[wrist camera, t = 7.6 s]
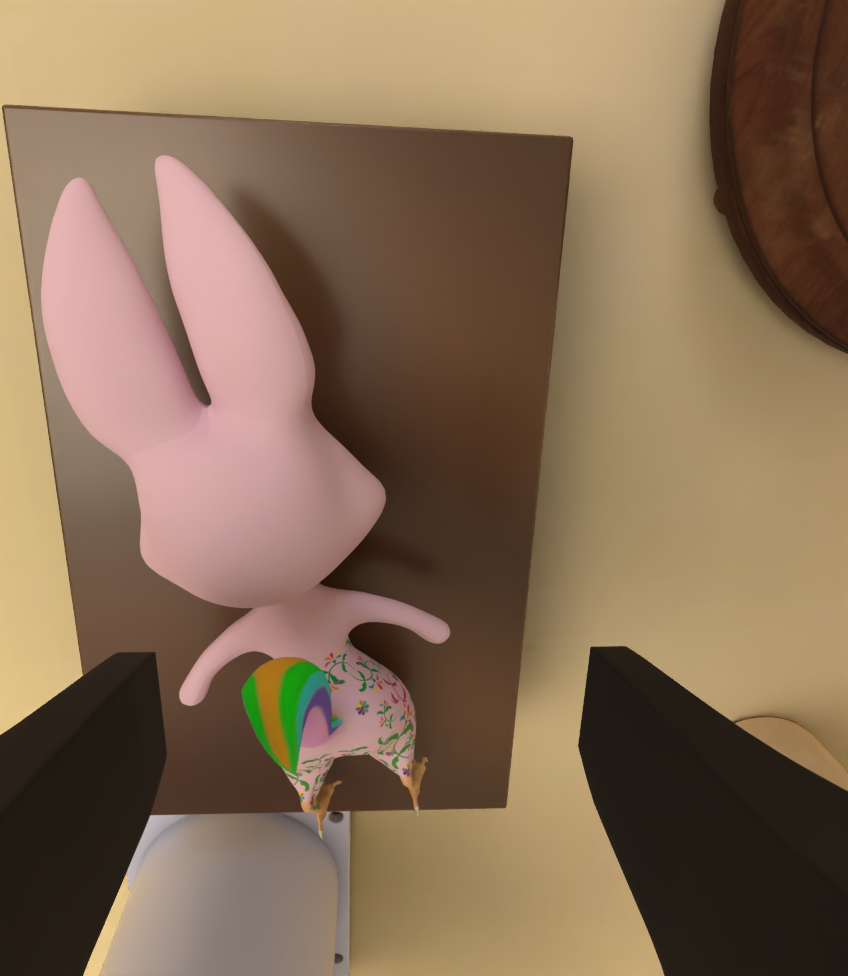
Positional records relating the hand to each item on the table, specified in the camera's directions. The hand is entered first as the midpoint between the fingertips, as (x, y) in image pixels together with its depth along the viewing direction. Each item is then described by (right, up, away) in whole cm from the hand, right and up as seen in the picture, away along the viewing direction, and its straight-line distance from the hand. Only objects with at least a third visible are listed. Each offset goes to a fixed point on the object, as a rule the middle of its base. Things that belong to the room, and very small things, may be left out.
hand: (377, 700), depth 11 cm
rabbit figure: (-2, +3, +5) cm, 6 cm away
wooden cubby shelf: (-2, +4, +9) cm, 11 cm away
